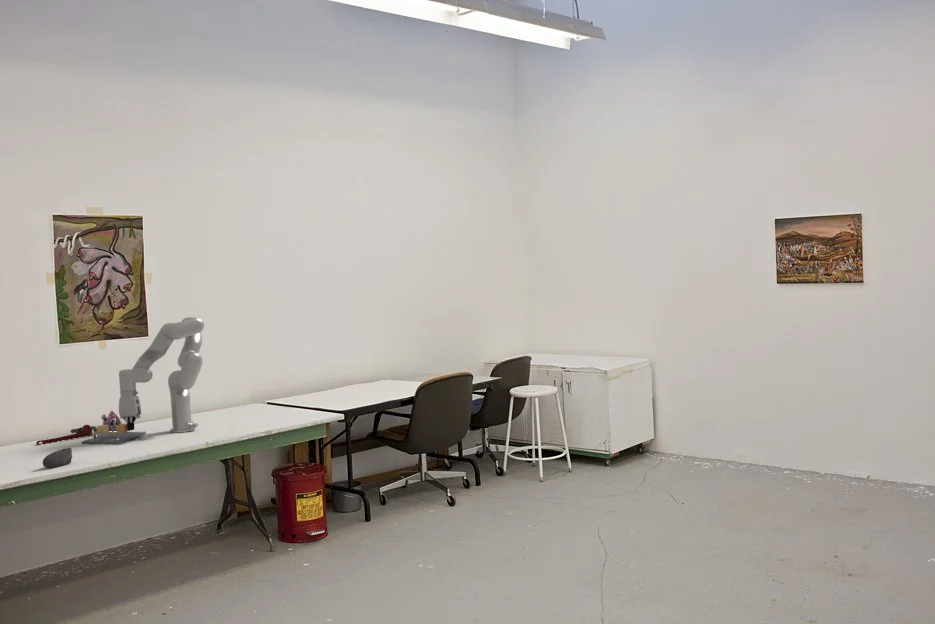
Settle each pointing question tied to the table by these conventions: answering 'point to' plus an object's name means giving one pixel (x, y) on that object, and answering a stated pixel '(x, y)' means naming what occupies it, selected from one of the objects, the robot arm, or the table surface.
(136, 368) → the robot arm
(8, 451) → the table surface
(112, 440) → the bolt plate
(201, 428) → the table surface
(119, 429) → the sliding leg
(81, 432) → the pipe wrench
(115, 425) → the red grey carburetor
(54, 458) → the perforated stone tool
